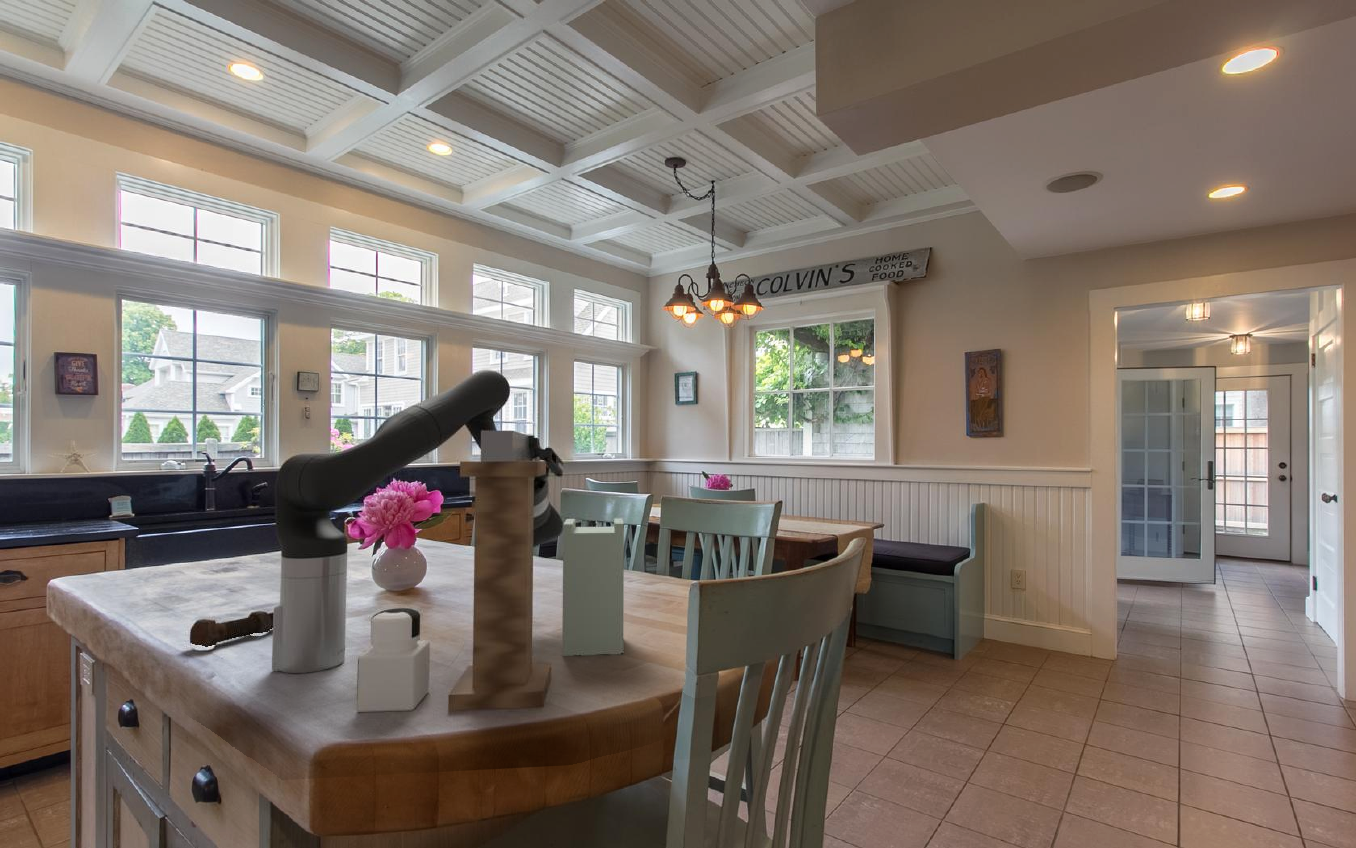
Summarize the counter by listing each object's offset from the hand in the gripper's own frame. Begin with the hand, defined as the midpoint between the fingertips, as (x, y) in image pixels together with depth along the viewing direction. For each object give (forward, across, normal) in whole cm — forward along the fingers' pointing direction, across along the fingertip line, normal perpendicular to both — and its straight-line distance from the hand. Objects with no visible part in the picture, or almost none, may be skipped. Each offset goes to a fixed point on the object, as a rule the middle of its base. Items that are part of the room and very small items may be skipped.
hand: (516, 439), depth 103 cm
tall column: (-8, 0, +36) cm, 37 cm away
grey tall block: (-27, +12, +25) cm, 39 cm away
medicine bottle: (-7, -14, +37) cm, 40 cm away
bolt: (-37, -51, +20) cm, 66 cm away
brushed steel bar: (+4, 0, +6) cm, 7 cm away
